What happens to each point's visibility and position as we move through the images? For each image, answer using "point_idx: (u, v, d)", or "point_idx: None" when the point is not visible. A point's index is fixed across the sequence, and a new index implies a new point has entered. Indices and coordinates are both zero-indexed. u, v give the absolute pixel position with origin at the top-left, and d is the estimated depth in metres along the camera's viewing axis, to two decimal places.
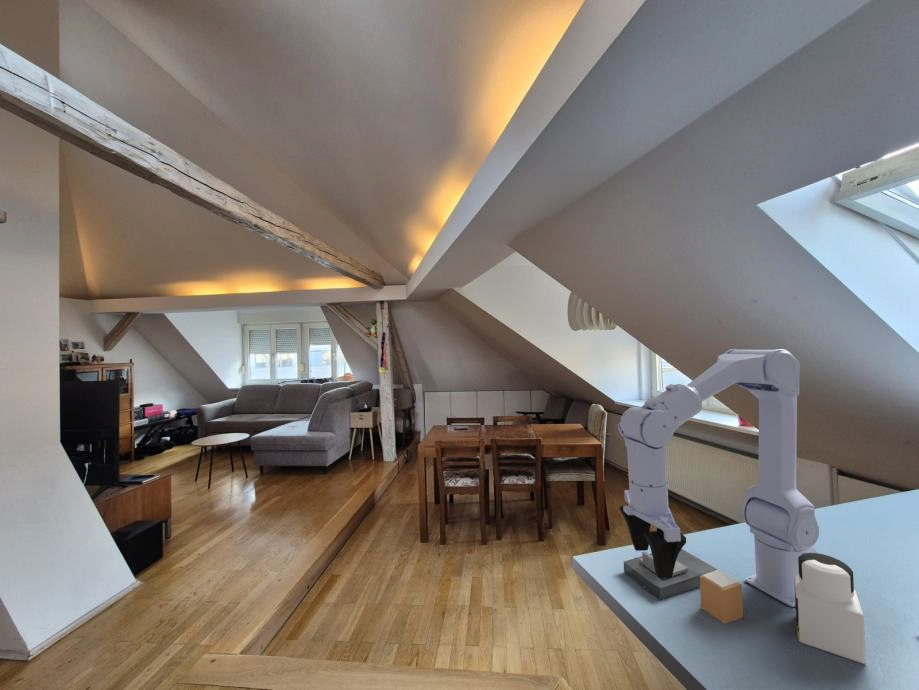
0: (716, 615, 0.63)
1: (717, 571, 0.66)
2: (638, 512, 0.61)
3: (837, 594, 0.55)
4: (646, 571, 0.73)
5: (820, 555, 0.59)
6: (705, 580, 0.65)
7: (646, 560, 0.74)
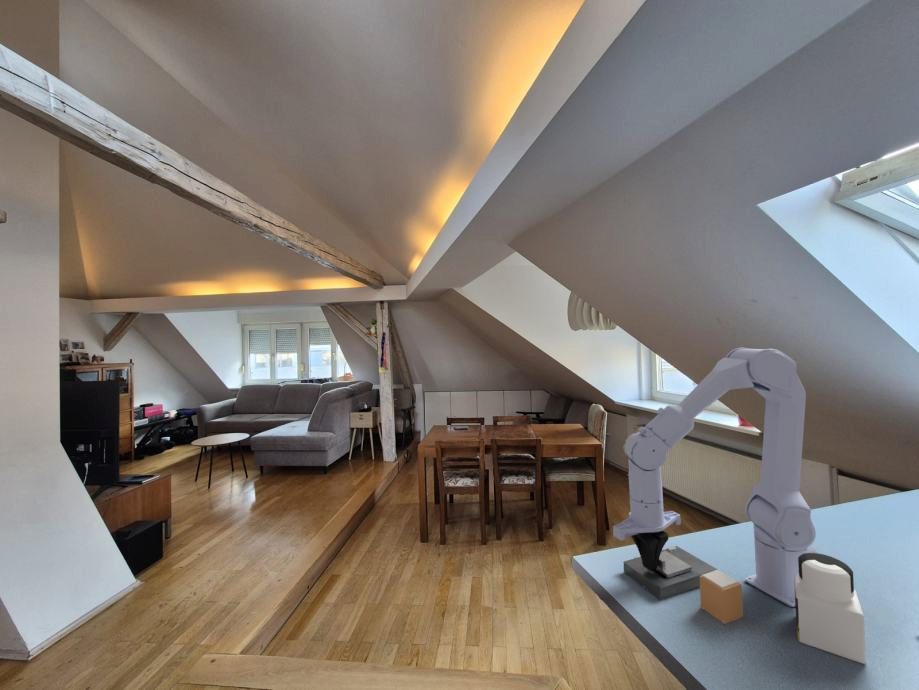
0: (716, 615, 0.63)
1: (717, 571, 0.66)
2: (630, 516, 0.75)
3: (837, 594, 0.55)
4: (646, 571, 0.73)
5: (820, 555, 0.59)
6: (704, 580, 0.65)
7: None
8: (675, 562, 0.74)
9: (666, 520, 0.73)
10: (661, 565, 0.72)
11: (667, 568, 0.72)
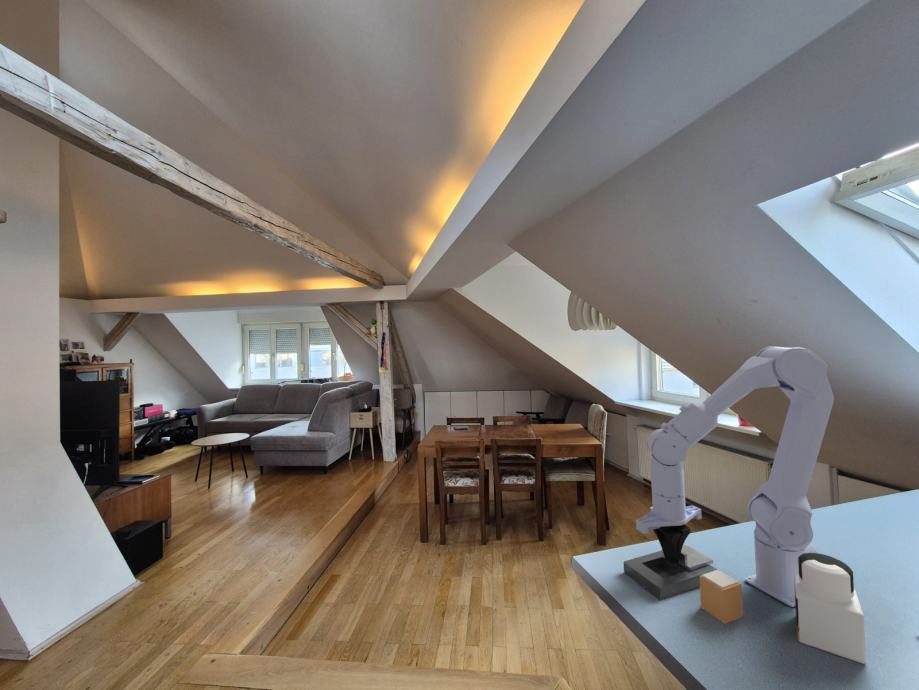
0: (716, 615, 0.63)
1: (717, 571, 0.66)
2: (652, 510, 0.77)
3: (837, 594, 0.55)
4: (646, 571, 0.73)
5: (820, 555, 0.59)
6: (705, 580, 0.65)
7: None
8: (696, 556, 0.76)
9: (687, 514, 0.75)
10: (683, 558, 0.74)
11: (689, 561, 0.74)
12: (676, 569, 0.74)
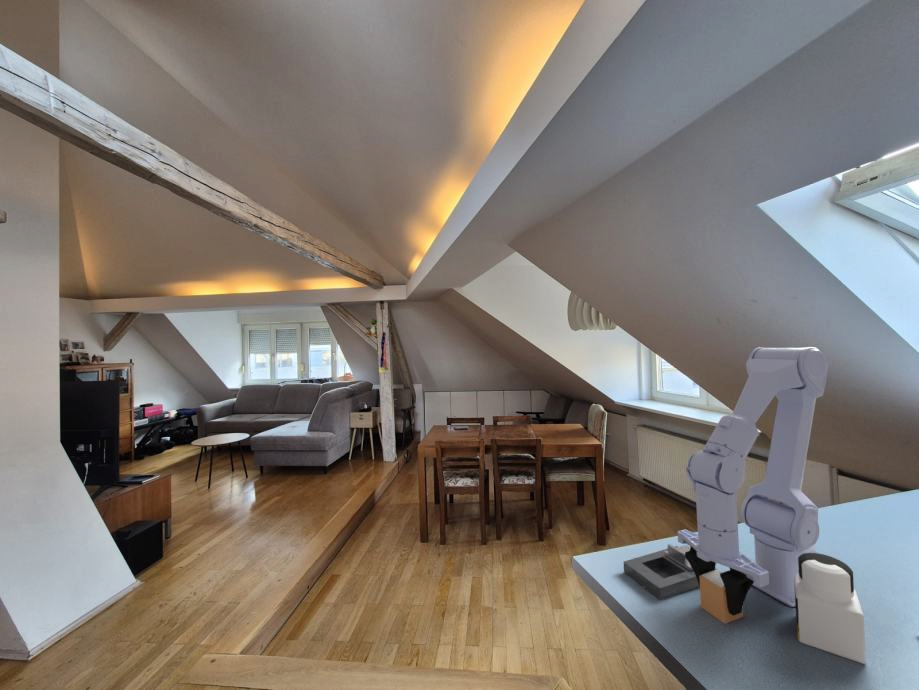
0: (716, 615, 0.63)
1: (717, 571, 0.66)
2: (716, 558, 0.62)
3: (837, 594, 0.55)
4: (646, 571, 0.73)
5: (820, 555, 0.59)
6: (705, 580, 0.65)
7: (671, 552, 0.76)
8: None
9: None
10: (683, 558, 0.74)
11: None
12: (676, 569, 0.74)
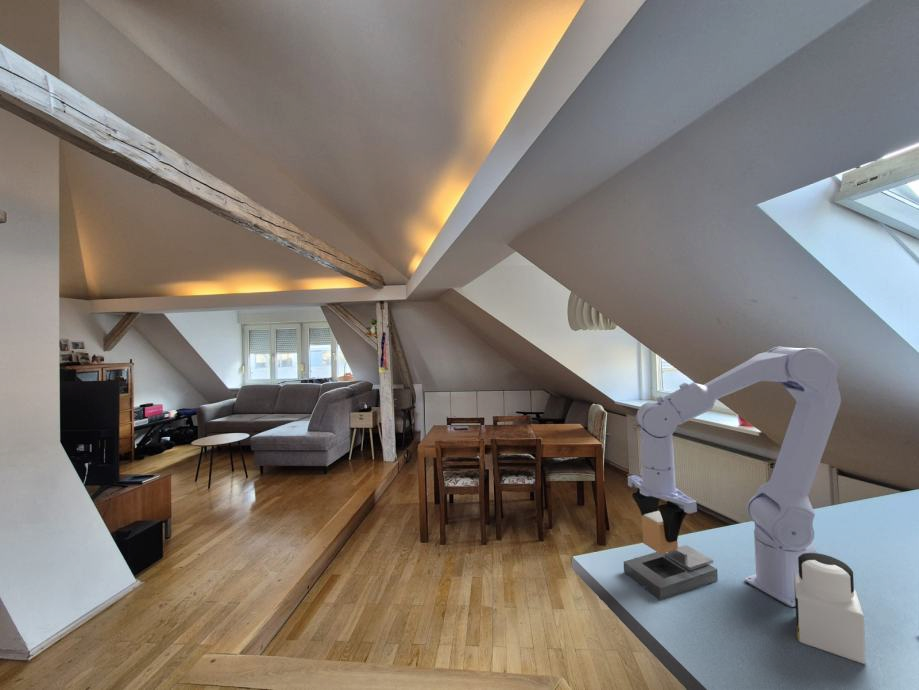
0: (654, 547, 0.73)
1: (657, 511, 0.76)
2: (655, 493, 0.72)
3: (837, 594, 0.55)
4: (646, 571, 0.73)
5: (820, 555, 0.59)
6: (645, 518, 0.74)
7: (671, 552, 0.76)
8: (696, 556, 0.76)
9: None
10: (683, 558, 0.74)
11: (689, 561, 0.74)
12: (676, 569, 0.74)
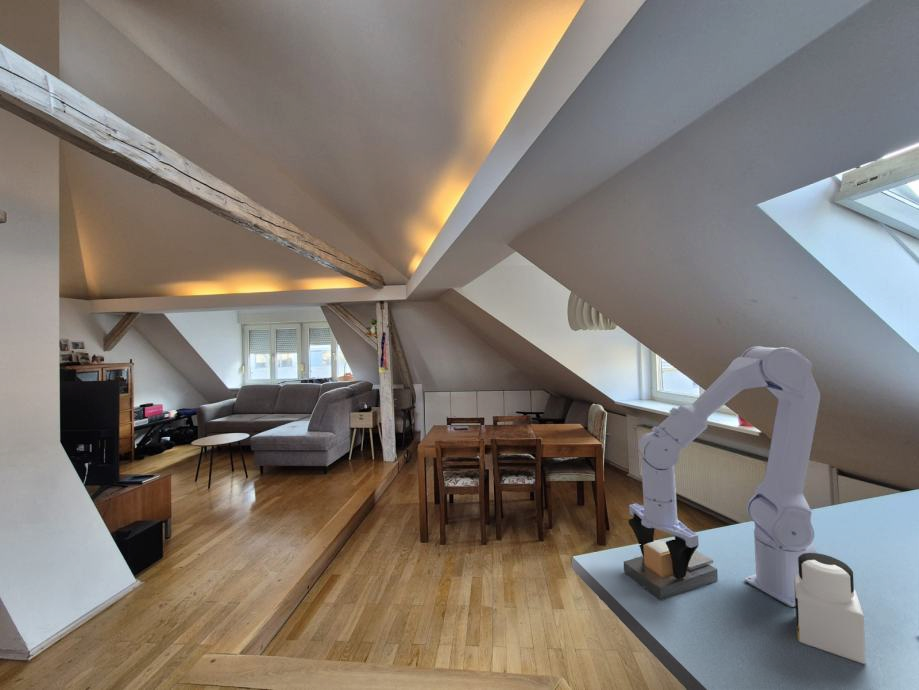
0: None
1: (659, 541, 0.76)
2: (657, 524, 0.72)
3: (837, 594, 0.55)
4: (646, 571, 0.73)
5: (820, 555, 0.59)
6: (647, 548, 0.74)
7: None
8: (696, 556, 0.76)
9: None
10: None
11: (689, 561, 0.74)
12: None
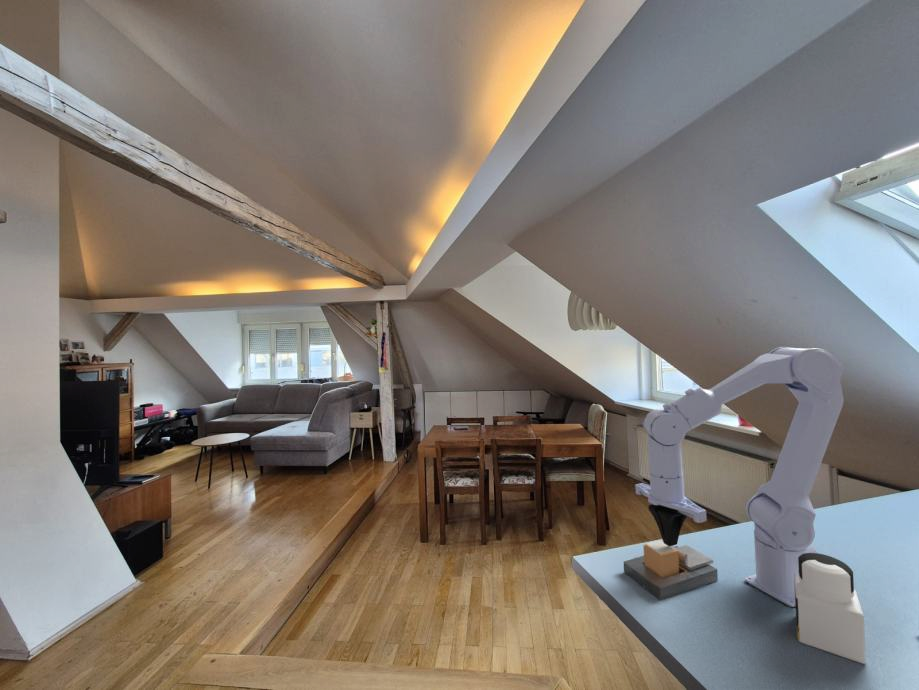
0: None
1: (659, 541, 0.76)
2: (664, 501, 0.71)
3: (837, 594, 0.55)
4: (646, 571, 0.73)
5: (820, 555, 0.59)
6: (647, 548, 0.74)
7: None
8: (696, 556, 0.76)
9: None
10: (683, 558, 0.74)
11: (689, 561, 0.74)
12: None
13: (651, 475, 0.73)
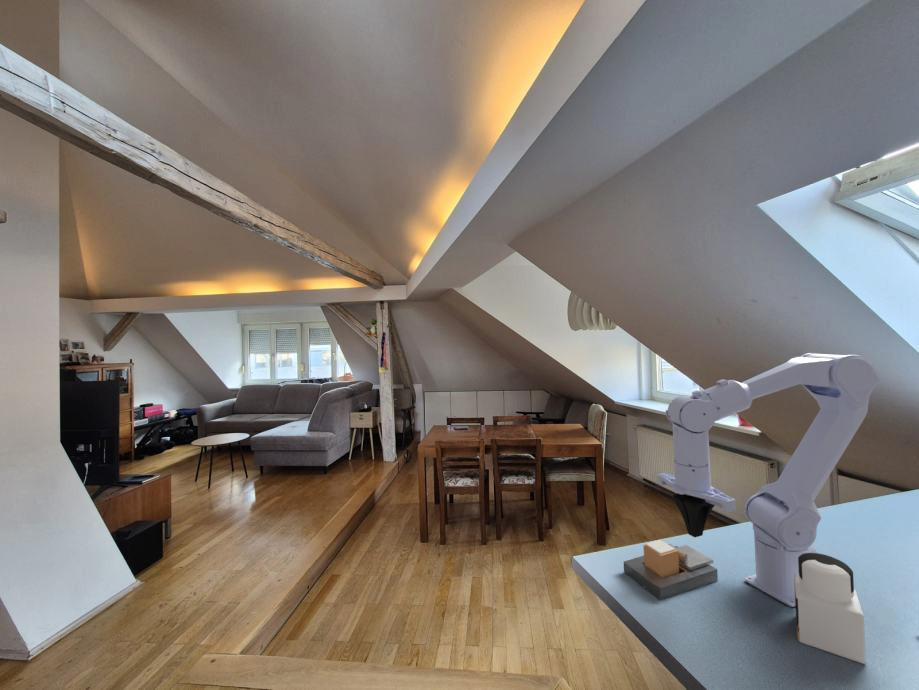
0: None
1: (659, 541, 0.76)
2: (690, 491, 0.68)
3: (837, 594, 0.55)
4: (646, 571, 0.73)
5: (820, 555, 0.59)
6: (647, 548, 0.74)
7: None
8: (696, 556, 0.76)
9: None
10: (683, 558, 0.74)
11: (689, 561, 0.74)
12: None
13: (676, 464, 0.71)
